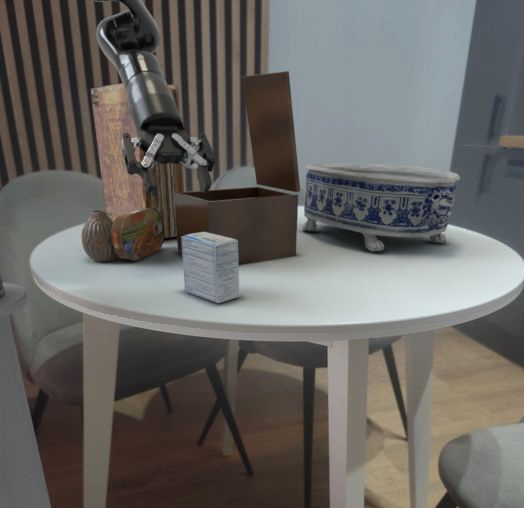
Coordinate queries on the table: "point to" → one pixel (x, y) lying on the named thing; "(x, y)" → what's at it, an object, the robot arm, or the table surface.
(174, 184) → the book
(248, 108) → the lid
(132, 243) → the tin
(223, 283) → the medicine box
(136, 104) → the robot arm
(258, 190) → the chest
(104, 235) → the vase
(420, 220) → the decorative bowl
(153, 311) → the table surface
